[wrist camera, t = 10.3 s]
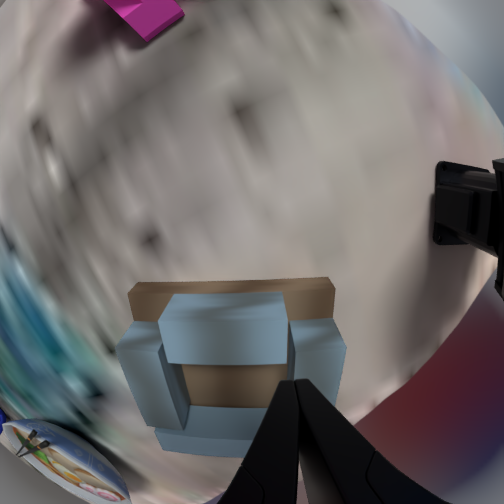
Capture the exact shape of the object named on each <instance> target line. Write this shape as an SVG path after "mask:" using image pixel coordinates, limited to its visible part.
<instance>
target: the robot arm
mask: <svg viewBox="0 0 504 504" xmlns="http://www.w3.org/2000/svg"><path fill="white" fill-rule="evenodd" d="M492 163H493V169H495V174H493V173H490V172H489V170H487V169H482V168H478V167H473V166H468V165H463V164H457V163H452V162H446V161H440V162H438V164H437V190H436V210H435V224H434V234H433V241H434V243H435V244H437V245H460V244H470V245H472V246H474V247H477V248H479V249H481V250H483V251H485V252H487V253H489V254H491V255H493V256H495V257H497V258H498V265H497V278H496V280H495V286H494V288H495V289H496V291H497V292H498V293H499V295H500V296H501V298H502V299H503V301H504V158H502V159H496V160H492ZM442 166H444V170H443V169H442ZM439 236H440V239H439V240H438V237H439ZM375 450H376V449H375V448H374V447H373V446H372V445H371V444H370V443H369V442H368V441H367V440H366V439H365V438H364V437H363V436H362V435H361V434H360V432H359V431H357V429H356V428H354V426H353V425H352V424H351V423H350V422H349V421H348V420H347V419H346V418H345V417H344V416H343V415H342V414H341V413H340V412H339V411H338V410H337V409H336V408H335V407H334V406H333V405H332V403H331V402H330V401H329V400H328V399H327V398H326V397H325V396H324V395H323V394H322V393H321V392H320V391H319V390H318V389H317V387H316V386H315V385H314V384H313V383H312V382H311V381H310V380H309V379H307V378H302V379H295V380H294V381H293V380H292V379H289V380H280V381H279V383H278V385H277V388H276V390H275V392H274V395H273V397H272V399H271V402H270V404H269V406H268V408H267V411H266V413H265V415H264V417H263V420H262V422H261V424H260V426H259V428H258V430H257V433H256V435H255V437H254V439H253V441H252V443H251V445H250V447H249V449H248V451H247V453H246V455H245V457H244V459H243V461H242V463H241V466H240V467H239V469H238V471H237V473H236V475H235V477H234V478H233V480H232V482H231V483H230V485H229V487H228V488H227V490H226V492H225V493H224V494H223V496H222V497H221V499H220V500H219V501H218V503H217V504H296V501H297V484H298V467H299V462H300V466H301V471H302V475H303V480H304V484H305V489H306V493H307V498H308V502H309V504H451V503H449V502H446V501H444V500H442V499H441V498H439V497H437V496H436V495H434V494H432V493H431V492H430V491H428V490H426V489H425V488H423V487H422V486H420V485H419V484H418V483H416V482H415V481H413V480H412V479H410V478H409V477H408V476H406V475H405V474H404V473H402V472H401V471H400V470H398V469H397V468H396V467H395V466H394V465H392V464H391V463H390V462H389V461H388V460H387V459H386V458H385V457H383V455H382V454H381V453H380V452H379V451H377V450H376V451H375Z"/></svg>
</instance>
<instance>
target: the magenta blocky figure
mask: <svg viewBox="0 0 504 504" xmlns="http://www.w3.org/2000/svg"><path fill="white" fill-rule="evenodd" d="M103 1H105V2H106V3H107V4H108V5H109V6H110V7H111V8H112V9H113V10H114V11H115V12H116V13H118V14H119V15H120V16H121V17H122V18H123V19H124V20H125V21H126V22H127V23H128V24H129V25H130V26H131V27H132V28H133V29H134V30H135V31H136V32H137V33H138V34H139V35H140V36H141V37H142V38H143V39H144V40H145V41H146V42H148V41H149V40H150V39H152V38H153V37H154V36H156V35H157V34H158V33H159V32H161V31H162V30H163V29H165V28H166V27H168V26H169V25H170V24H172V23H173V22H175V21H176V20H178V19H179V18H180V17H182V16H183V15H185V14H184V12H183V10H182V9H181V8H180V7H179V5H178V4H177V3H176V2H175V1H174V0H103Z"/></svg>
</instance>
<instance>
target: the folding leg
mask: <svg viewBox="0 0 504 504" xmlns="http://www.w3.org/2000/svg"><path fill="white" fill-rule="evenodd" d="M266 411H267V408H224V407H206V406H193V405H189V409H188V413H187V417H186V421H185V425H184V429H183V431H182V430H173V429H165V428H158V427H156V428H155V431H154V432H155V434H156V436H157V439H158V441H159V443H160V445H161V447H162V449H163V450H166V451H172V452H179V453H187V454H195V455H205V456H218V457H241V458H244V457H245V455H246V453H247V451H248V449H249V447H250V445H251V443H252V441H253V439H254V437H255V435H256V433H257V430H258V428H259V426H260V424H261V422H262V420H263V417H264V415H265V413H266Z"/></svg>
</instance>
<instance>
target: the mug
mask: <svg viewBox="0 0 504 504" xmlns="http://www.w3.org/2000/svg"><path fill="white" fill-rule="evenodd" d="M4 423H6V416H5V414H4V412H3V411H2V410H1V408H0V434H1V433H2V431H3V426H2V424H4Z"/></svg>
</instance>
